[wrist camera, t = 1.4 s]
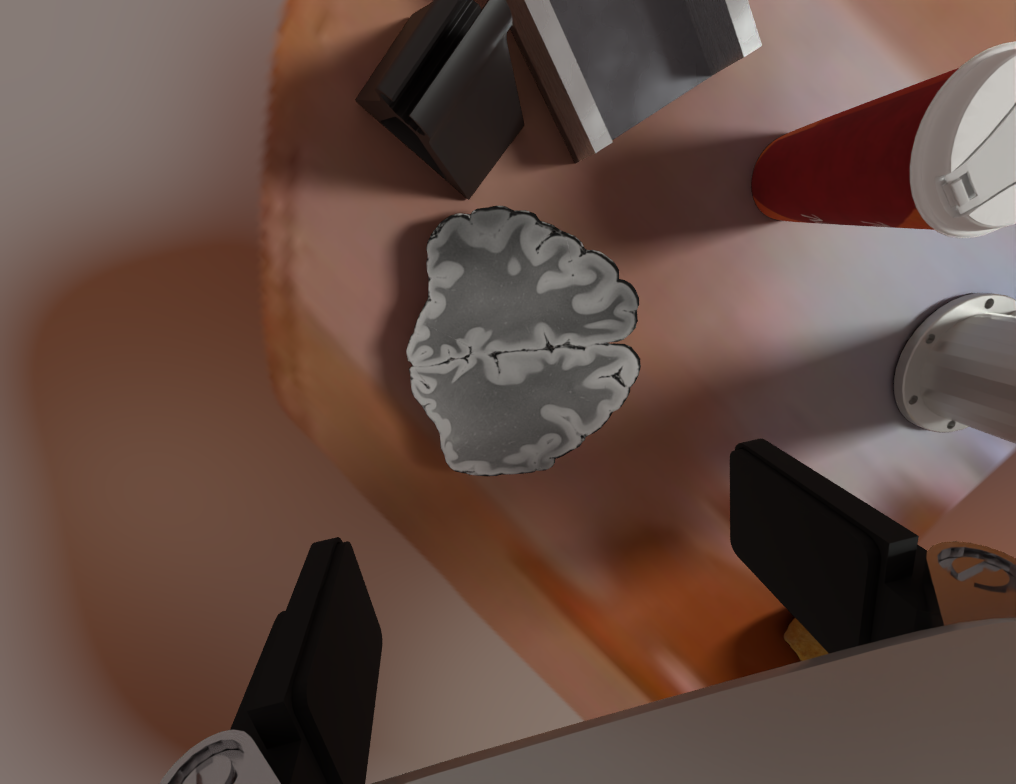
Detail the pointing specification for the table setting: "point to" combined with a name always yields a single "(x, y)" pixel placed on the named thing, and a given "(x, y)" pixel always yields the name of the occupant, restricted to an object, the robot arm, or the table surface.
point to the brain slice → (519, 341)
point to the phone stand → (450, 89)
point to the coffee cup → (906, 157)
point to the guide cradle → (624, 58)
